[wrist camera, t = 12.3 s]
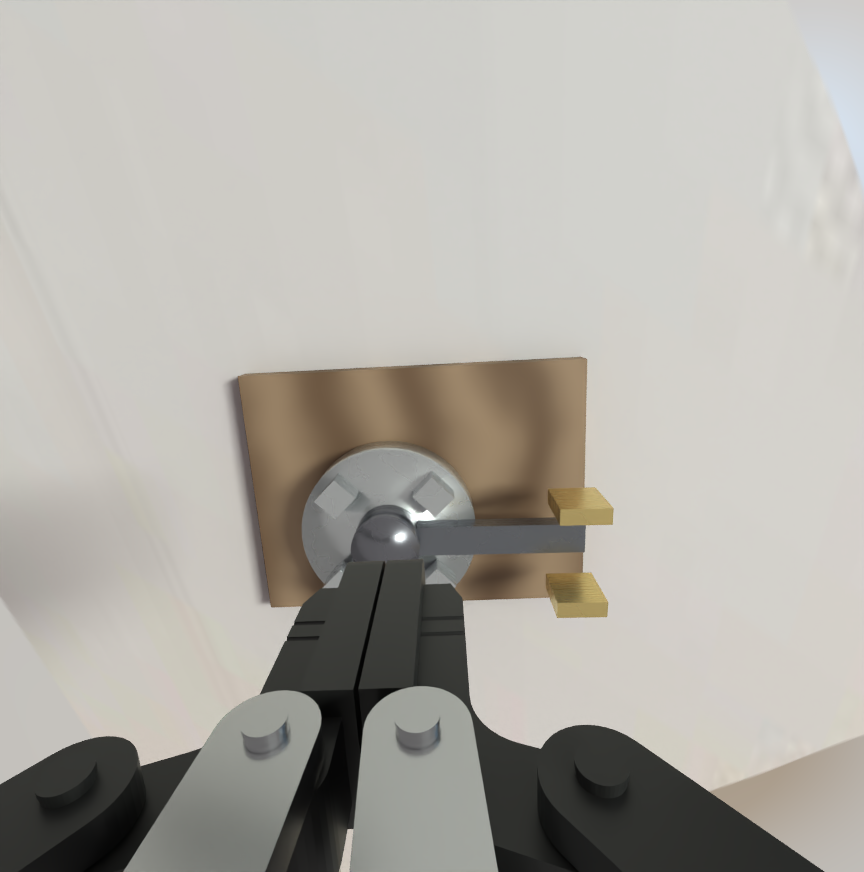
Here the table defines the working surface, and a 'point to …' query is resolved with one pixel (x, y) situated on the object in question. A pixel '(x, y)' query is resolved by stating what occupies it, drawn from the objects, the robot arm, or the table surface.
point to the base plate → (430, 428)
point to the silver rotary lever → (439, 523)
